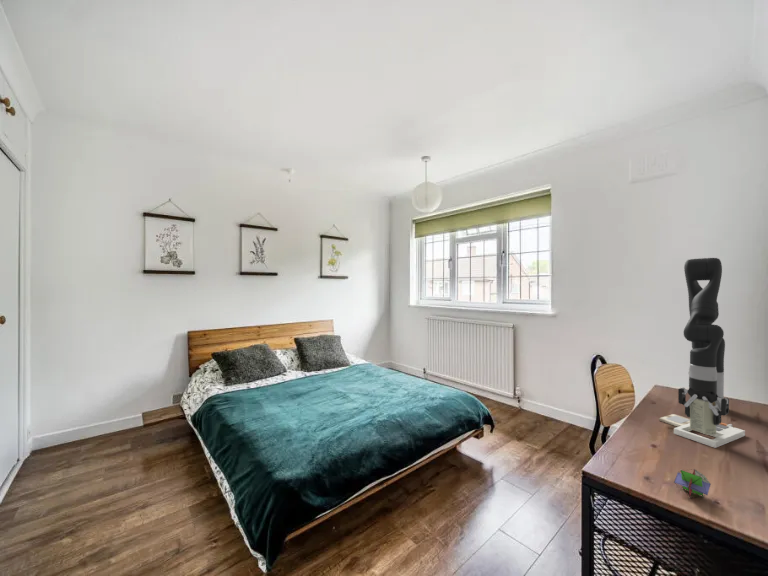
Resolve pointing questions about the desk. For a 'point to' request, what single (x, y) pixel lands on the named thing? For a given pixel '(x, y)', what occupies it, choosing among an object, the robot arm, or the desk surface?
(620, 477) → the desk surface
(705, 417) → the skincare box
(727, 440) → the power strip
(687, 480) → the geometric puzzle
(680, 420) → the cream flat rectangular plate
